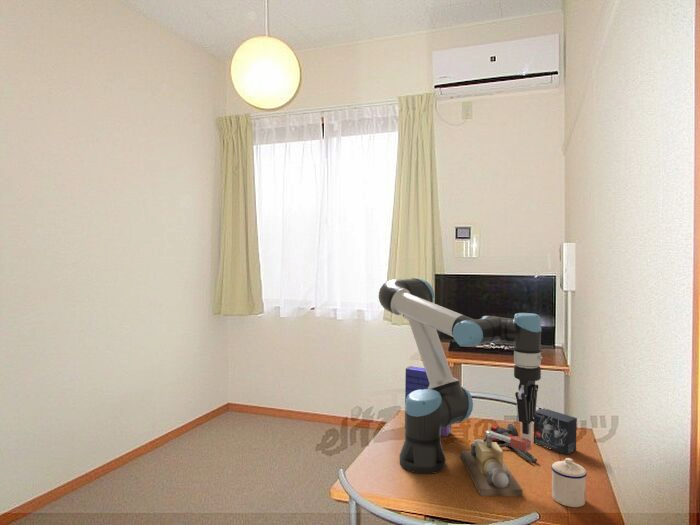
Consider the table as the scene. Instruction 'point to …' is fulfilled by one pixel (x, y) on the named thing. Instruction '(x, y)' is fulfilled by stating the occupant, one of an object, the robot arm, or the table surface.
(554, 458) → the table surface
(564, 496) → the white lidded jar
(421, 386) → the cereal box
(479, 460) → the valve stand
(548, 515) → the table surface
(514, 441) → the valve lever
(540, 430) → the small box
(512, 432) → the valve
